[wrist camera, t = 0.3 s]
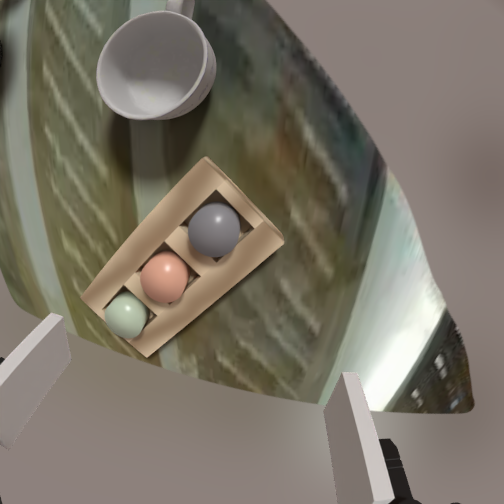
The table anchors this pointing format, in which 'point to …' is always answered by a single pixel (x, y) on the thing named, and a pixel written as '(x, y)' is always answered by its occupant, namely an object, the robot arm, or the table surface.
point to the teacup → (157, 65)
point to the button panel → (184, 255)
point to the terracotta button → (165, 276)
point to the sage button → (126, 315)
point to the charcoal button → (214, 229)
